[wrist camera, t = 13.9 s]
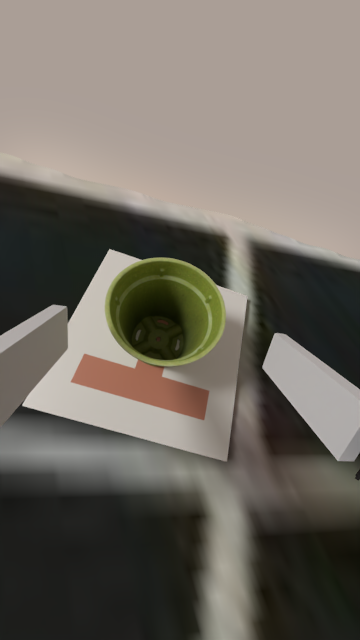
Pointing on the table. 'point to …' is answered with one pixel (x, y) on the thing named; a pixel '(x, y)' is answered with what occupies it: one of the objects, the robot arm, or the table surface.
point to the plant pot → (165, 312)
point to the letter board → (144, 378)
